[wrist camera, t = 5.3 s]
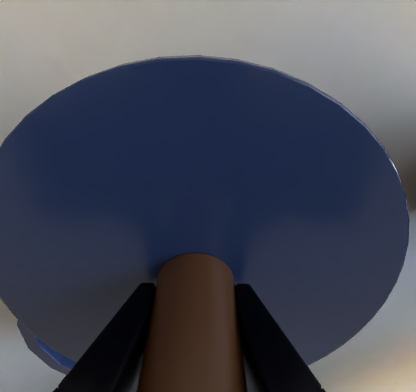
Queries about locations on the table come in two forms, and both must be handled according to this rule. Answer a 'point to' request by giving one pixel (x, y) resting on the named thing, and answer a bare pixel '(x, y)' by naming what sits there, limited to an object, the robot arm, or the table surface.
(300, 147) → the cover
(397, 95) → the table surface
